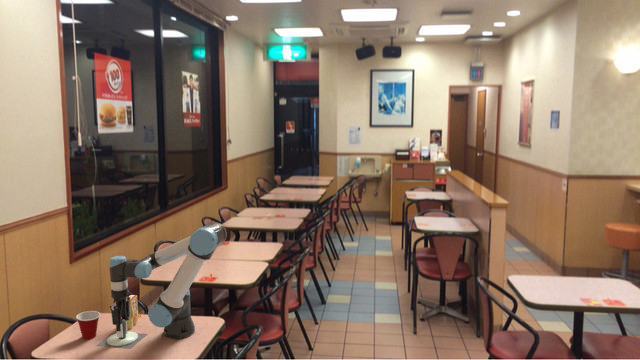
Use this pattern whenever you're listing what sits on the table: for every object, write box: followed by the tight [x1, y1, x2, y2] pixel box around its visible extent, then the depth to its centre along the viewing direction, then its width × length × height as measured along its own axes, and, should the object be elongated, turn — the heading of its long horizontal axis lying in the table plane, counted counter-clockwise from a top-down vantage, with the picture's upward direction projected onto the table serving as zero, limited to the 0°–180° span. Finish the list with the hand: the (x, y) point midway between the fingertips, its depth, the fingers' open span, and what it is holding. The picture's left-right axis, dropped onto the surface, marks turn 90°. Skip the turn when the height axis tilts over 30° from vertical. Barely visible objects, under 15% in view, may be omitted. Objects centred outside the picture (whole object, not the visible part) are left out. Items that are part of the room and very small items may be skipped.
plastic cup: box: [75, 310, 101, 340], centre depth 243 cm, size 11×11×12 cm
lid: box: [107, 318, 138, 346], centre depth 239 cm, size 14×14×10 cm
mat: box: [95, 331, 149, 350], centre depth 240 cm, size 18×16×1 cm
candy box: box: [127, 294, 139, 330], centre depth 256 cm, size 9×4×15 cm, turn 179°
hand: (122, 335), depth 240 cm, fingers closed on lid, 3 cm apart
